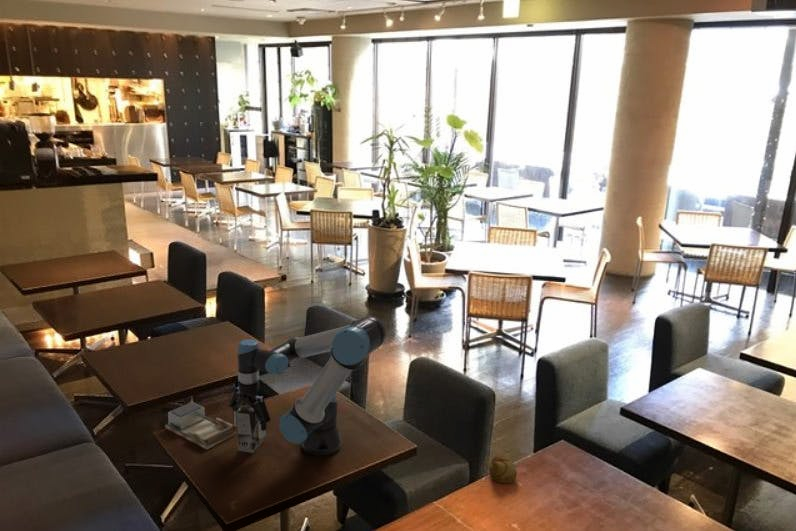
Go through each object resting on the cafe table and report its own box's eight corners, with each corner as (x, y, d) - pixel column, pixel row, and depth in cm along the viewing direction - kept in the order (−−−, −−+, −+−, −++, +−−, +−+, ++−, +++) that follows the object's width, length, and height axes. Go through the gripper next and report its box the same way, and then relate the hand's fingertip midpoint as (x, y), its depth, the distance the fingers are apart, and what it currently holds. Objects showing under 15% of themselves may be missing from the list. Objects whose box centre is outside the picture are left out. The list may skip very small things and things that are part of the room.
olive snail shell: (487, 464, 227) (488, 445, 225) (513, 466, 227) (515, 447, 225) (489, 485, 215) (490, 465, 213) (517, 487, 214) (518, 467, 212)
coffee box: (253, 453, 230) (252, 414, 226) (237, 451, 231) (236, 412, 227) (263, 440, 238) (262, 403, 234) (248, 438, 240) (247, 401, 236)
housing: (205, 418, 251) (204, 406, 249) (180, 429, 241) (180, 417, 240) (192, 412, 255) (192, 400, 254) (168, 423, 246) (167, 411, 245)
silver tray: (236, 434, 242) (235, 426, 241) (206, 449, 231) (206, 440, 230) (194, 414, 257) (194, 406, 256) (165, 427, 246) (164, 419, 245)
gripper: (279, 386, 224) (280, 438, 229) (234, 367, 238) (235, 416, 243) (264, 393, 218) (265, 446, 223) (218, 374, 232) (220, 424, 237)
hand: (249, 431), depth 233 cm, fingers open, 13 cm apart
